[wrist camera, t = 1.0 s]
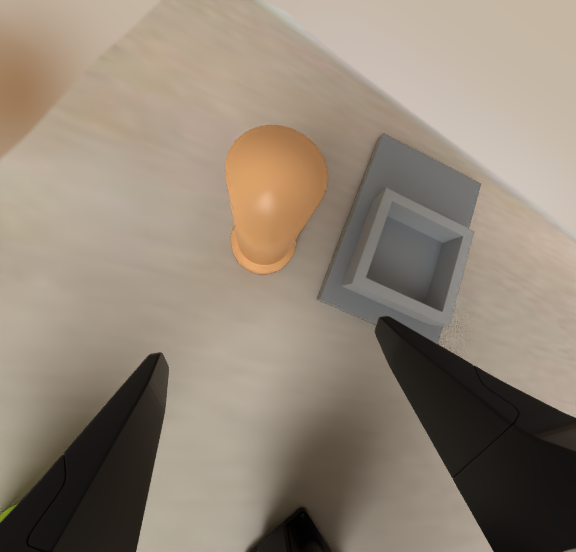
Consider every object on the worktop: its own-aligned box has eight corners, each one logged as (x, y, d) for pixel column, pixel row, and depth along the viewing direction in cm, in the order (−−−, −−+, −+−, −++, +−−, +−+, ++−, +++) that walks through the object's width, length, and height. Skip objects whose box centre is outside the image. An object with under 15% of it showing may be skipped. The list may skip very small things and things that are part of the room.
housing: (427, 347, 25) (457, 353, 21) (316, 299, 24) (328, 297, 20) (471, 188, 29) (503, 171, 25) (377, 140, 28) (397, 115, 24)
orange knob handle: (303, 254, 24) (362, 195, 12) (253, 286, 23) (258, 259, 10) (271, 206, 24) (295, 95, 12) (220, 235, 23) (185, 146, 10)
